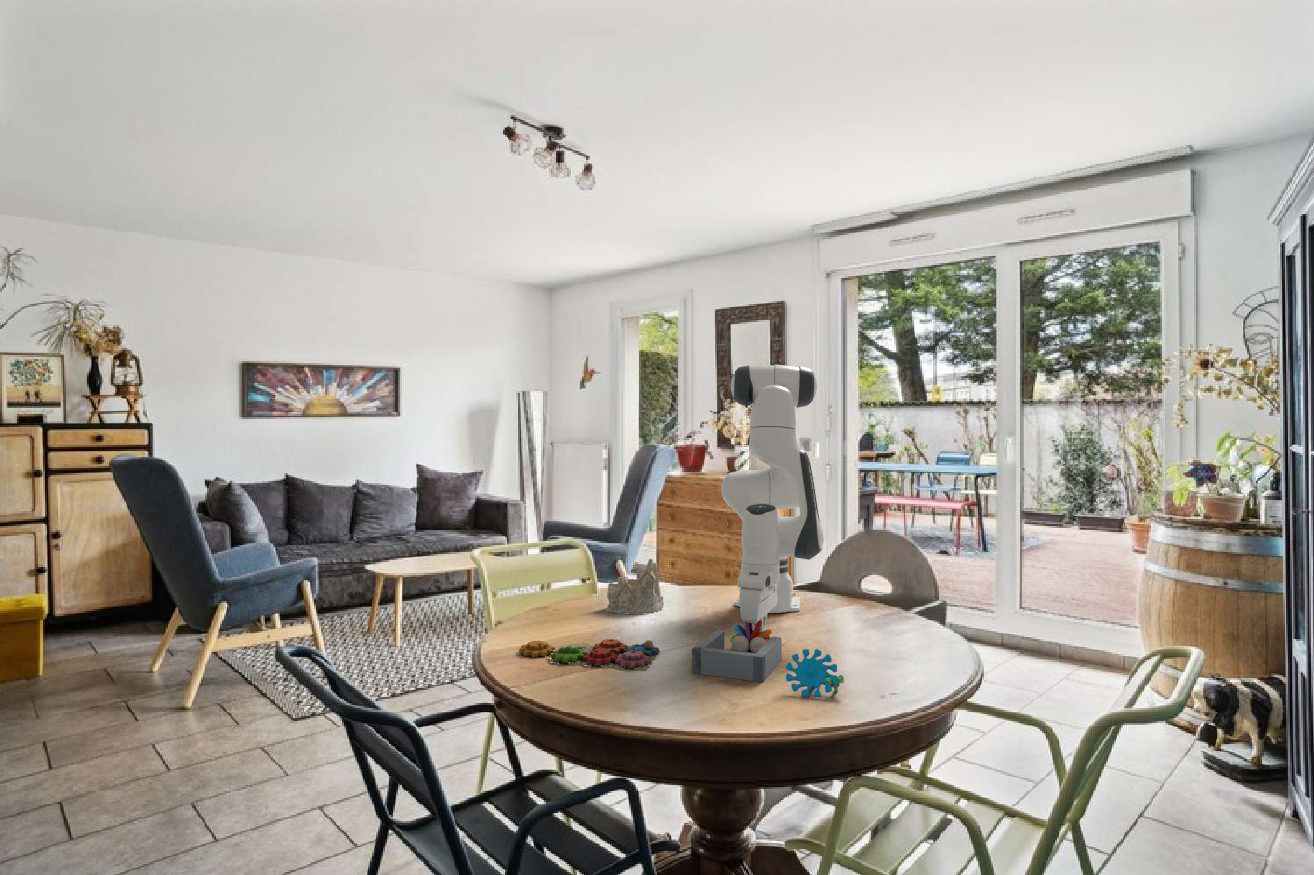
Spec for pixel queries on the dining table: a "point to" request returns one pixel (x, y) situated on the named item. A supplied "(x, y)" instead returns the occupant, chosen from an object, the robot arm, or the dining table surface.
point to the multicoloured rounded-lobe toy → (749, 637)
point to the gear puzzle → (597, 654)
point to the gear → (813, 674)
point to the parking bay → (735, 659)
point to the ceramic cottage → (636, 592)
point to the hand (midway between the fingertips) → (760, 633)
